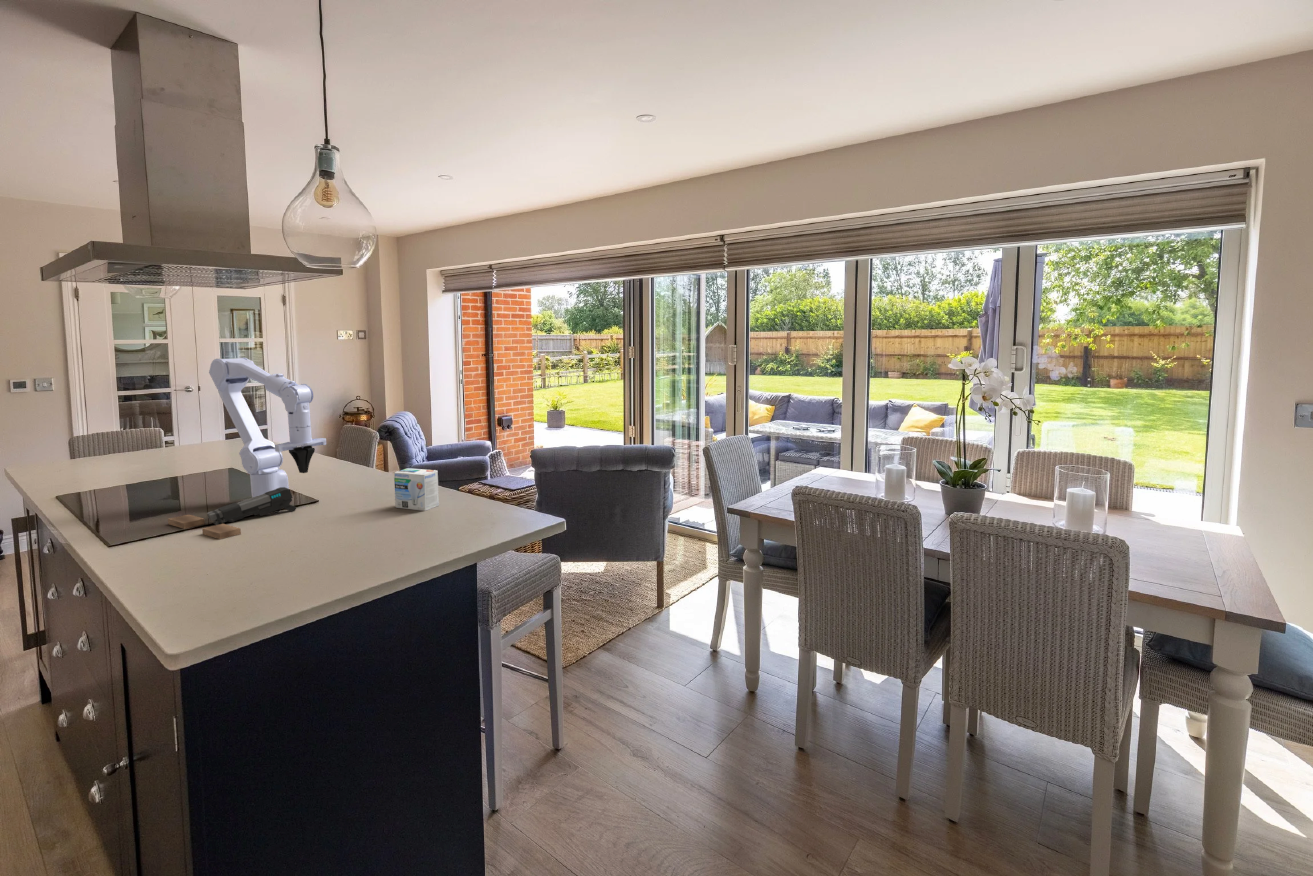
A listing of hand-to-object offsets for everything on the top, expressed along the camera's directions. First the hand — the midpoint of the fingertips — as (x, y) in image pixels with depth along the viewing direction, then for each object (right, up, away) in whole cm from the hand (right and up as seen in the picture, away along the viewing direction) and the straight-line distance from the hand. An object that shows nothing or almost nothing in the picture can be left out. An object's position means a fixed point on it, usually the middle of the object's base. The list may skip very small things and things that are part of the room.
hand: (303, 472), depth 196 cm
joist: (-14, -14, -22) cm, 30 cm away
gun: (-8, -12, -11) cm, 18 cm away
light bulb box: (+33, -10, +1) cm, 35 cm away
